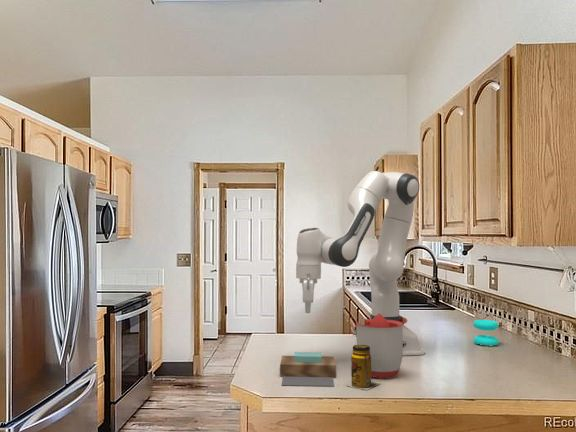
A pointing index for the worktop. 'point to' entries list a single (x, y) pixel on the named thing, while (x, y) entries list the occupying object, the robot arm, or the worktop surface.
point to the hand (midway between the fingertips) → (307, 312)
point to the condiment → (361, 368)
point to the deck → (307, 368)
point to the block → (308, 357)
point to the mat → (308, 381)
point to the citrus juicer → (382, 344)
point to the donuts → (487, 326)
